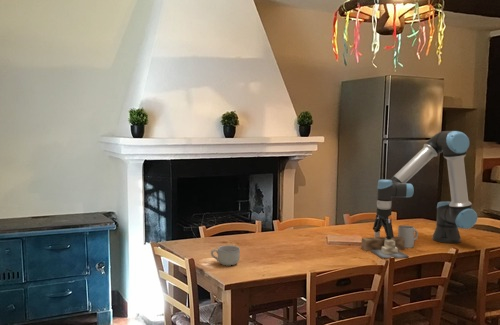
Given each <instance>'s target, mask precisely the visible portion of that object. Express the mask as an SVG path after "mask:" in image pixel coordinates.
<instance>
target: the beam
mask: <svg viewBox="0 0 500 325" xmlns="http://www.w3.org/2000/svg"><path fill="white" fill-rule="evenodd" d="M386 237H387V236H384V237H383V236H380V237H375V236H374V237H362V238H361V244H360V245H361V247H360V248H361V249H362V250H363V251H364V252H371V250H382V247H384V240H386ZM391 240H393V241H395V247H397V248H398V251H404V250H405V248H404V240H405V239H403V238H401V237H398V236H394V238H391Z"/></svg>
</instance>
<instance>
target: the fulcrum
mask: <svg viewBox="0 0 500 325" xmlns="http://www.w3.org/2000/svg"><path fill="white" fill-rule="evenodd" d="M370 252H371V253H372V254H374V255H376V256H377V257H378V258H380V259H382V258H391V257H394V258H395V259H408V258H407V257H410V256H409V255H407V254H406V253H404V252H402V251H401V250H398V248H397V247H395V241H393V240H384V247H382V250H371V251H370ZM395 259H394V260H395Z"/></svg>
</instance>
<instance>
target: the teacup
mask: <svg viewBox="0 0 500 325" xmlns="http://www.w3.org/2000/svg"><path fill="white" fill-rule="evenodd" d="M240 250H241V248H240V247H239V246H237V245H233V244H228V245H226V244H225V245H221V246H218V248H217V249H216V248H214V249H212V250H211V251H210V256H211V257H212V258H213V259H214V260H216V261H217V262H219V263H220V264H221V265H222V266H225V265H226V266H225V267H232V266H231V265H233V266H235V265H237V263H238V262H239V261H240V256H241V255H240ZM214 252H216V253H217V256H216V255H214Z"/></svg>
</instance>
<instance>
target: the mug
mask: <svg viewBox="0 0 500 325" xmlns="http://www.w3.org/2000/svg"><path fill="white" fill-rule="evenodd" d="M397 237H401V238H403V239H405V240H404V249H412V248H414V246H415V245H414V244H415V241H417V240H418V237H419V233H418V230H417V229H416V228H415V227H414V226H412V225H406V224H405V225H404V224H402V225H398V229H397Z"/></svg>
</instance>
